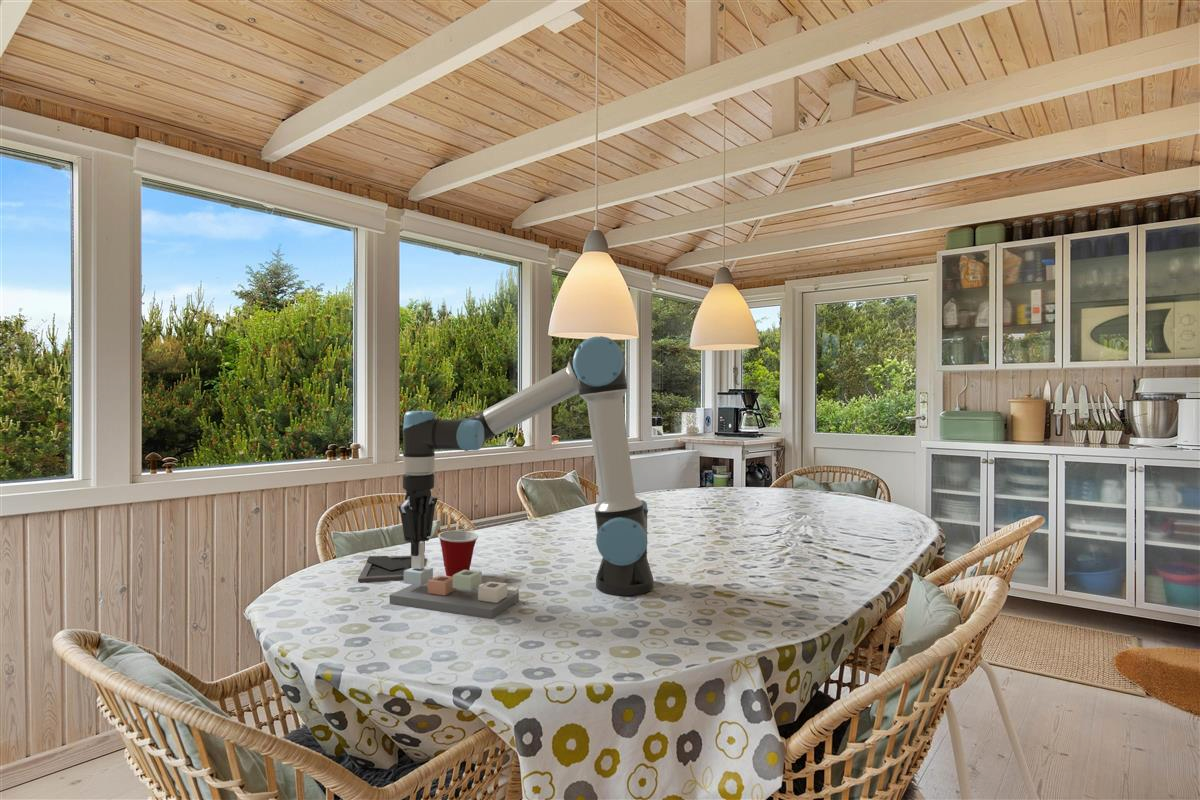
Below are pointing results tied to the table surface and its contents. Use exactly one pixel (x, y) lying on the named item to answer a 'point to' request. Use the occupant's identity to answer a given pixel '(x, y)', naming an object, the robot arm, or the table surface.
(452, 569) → the plastic cup
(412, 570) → the key blue
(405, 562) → the picture frame
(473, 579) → the key sage
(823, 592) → the table surface
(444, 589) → the key terracotta
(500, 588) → the key ivory
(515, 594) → the keypad base
